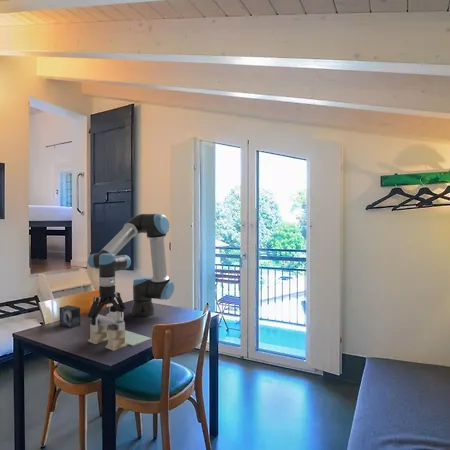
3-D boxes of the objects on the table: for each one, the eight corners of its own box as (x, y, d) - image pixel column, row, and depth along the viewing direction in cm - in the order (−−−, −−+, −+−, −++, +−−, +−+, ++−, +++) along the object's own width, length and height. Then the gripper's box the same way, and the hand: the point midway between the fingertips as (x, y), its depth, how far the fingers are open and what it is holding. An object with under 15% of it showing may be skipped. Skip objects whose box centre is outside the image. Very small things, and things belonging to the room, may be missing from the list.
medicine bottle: (123, 324, 204) (123, 303, 204) (116, 328, 197) (116, 306, 197) (113, 323, 206) (113, 302, 206) (105, 326, 199) (105, 305, 199)
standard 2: (119, 342, 175) (119, 321, 175) (127, 345, 172) (127, 323, 171) (105, 347, 168) (105, 325, 168) (113, 350, 165) (113, 327, 165)
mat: (118, 329, 195) (118, 328, 195) (151, 339, 180) (151, 338, 180) (99, 335, 186) (99, 334, 185) (132, 346, 171) (132, 345, 171)
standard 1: (101, 337, 183) (101, 316, 183) (109, 339, 180) (109, 318, 179) (88, 341, 176) (88, 319, 176) (95, 344, 173) (95, 322, 173)
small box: (58, 325, 201) (58, 307, 201) (68, 322, 207) (68, 304, 207) (71, 328, 196) (71, 309, 196) (80, 325, 202) (80, 307, 202)
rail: (90, 322, 179) (90, 315, 178) (96, 320, 181) (96, 313, 181) (118, 330, 166) (118, 323, 166) (124, 328, 169) (124, 321, 169)
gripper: (89, 290, 161) (89, 336, 161) (132, 282, 181) (132, 322, 182) (79, 288, 165) (79, 333, 166) (122, 280, 185) (122, 320, 186)
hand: (107, 327), depth 174 cm, fingers open, 13 cm apart
